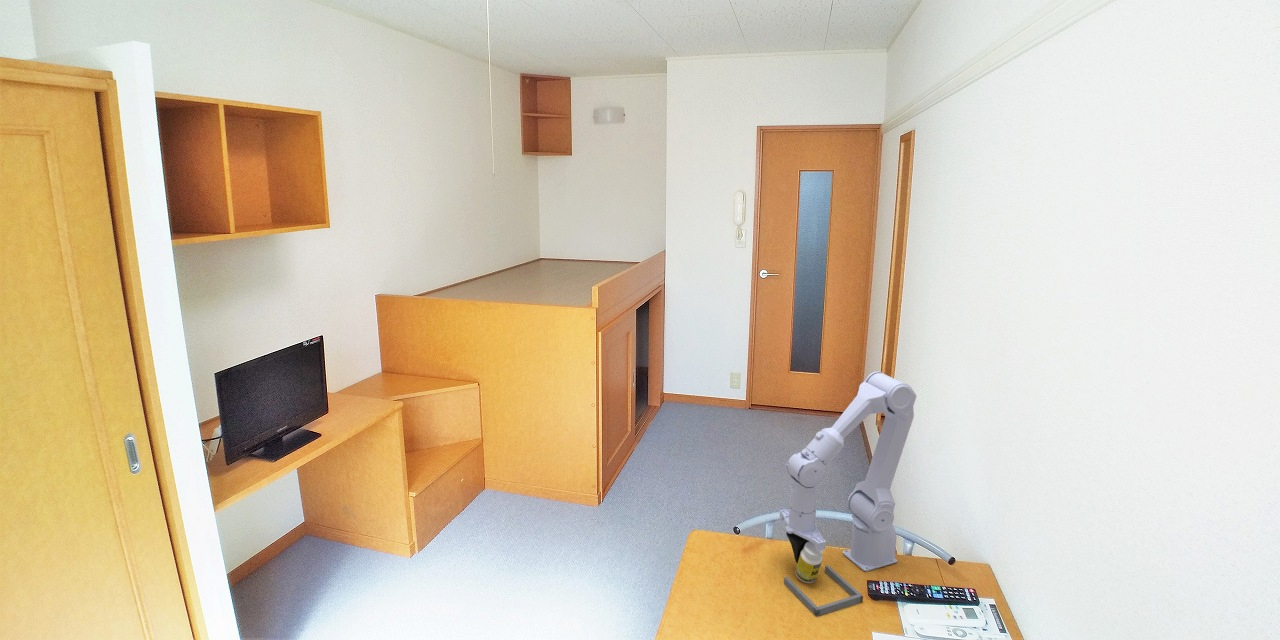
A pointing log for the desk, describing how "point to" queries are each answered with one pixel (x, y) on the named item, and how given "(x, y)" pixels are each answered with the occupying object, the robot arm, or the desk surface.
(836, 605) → the corral
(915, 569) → the desk surface
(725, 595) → the desk surface
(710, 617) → the desk surface
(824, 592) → the desk surface
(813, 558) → the supplement bottle
